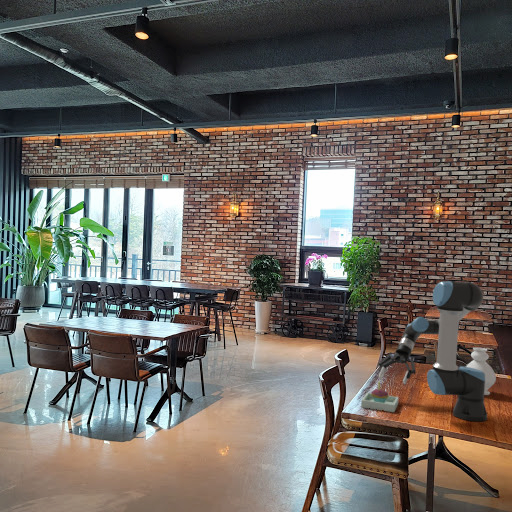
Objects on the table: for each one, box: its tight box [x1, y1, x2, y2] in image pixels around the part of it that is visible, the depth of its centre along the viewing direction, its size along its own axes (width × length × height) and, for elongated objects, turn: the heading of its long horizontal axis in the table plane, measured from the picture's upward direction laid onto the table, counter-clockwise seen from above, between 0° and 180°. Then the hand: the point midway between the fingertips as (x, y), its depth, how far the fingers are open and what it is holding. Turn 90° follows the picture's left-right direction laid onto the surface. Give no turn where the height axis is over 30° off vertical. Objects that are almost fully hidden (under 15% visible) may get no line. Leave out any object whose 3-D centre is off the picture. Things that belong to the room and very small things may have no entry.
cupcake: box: [370, 381, 389, 403], centre depth 258 cm, size 9×8×12 cm
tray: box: [360, 392, 399, 413], centre depth 258 cm, size 16×16×4 cm
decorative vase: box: [465, 347, 497, 396], centre depth 294 cm, size 18×18×25 cm
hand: (391, 380), depth 267 cm, fingers open, 13 cm apart
